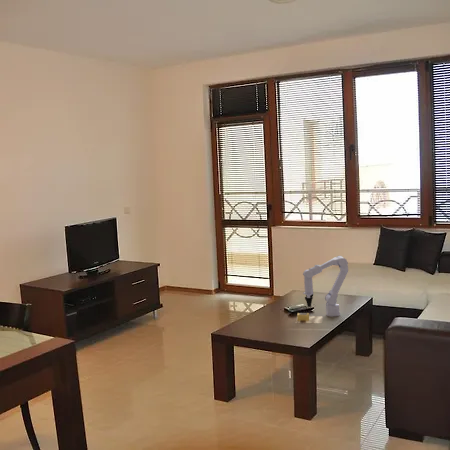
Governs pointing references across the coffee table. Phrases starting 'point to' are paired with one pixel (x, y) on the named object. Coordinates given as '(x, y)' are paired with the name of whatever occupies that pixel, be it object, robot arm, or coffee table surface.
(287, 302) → the coffee table surface
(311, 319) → the subfloor
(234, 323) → the coffee table surface
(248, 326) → the coffee table surface
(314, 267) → the robot arm
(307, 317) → the stud finder
